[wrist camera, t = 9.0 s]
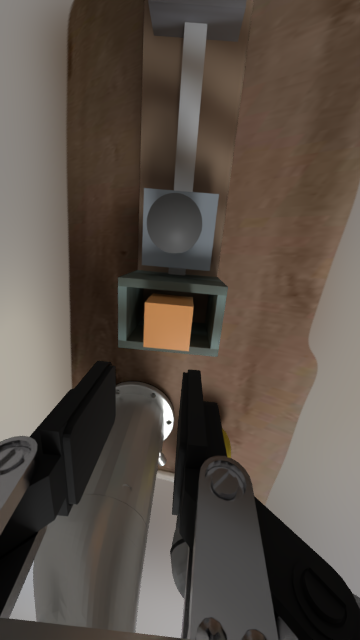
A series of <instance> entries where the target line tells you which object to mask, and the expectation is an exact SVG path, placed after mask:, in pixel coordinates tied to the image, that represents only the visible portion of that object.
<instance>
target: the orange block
mask: <svg viewBox="0 0 360 640" xmlns="http://www.w3.org/2000/svg"><path fill="white" fill-rule="evenodd" d="M193 307H194V306H193V297H187V296H176V295H165V294H154V293H153V294H152V295H151V296H150V297H149V298H148V299H147V301H146V302H145V313H144V341H143V347H149V348H160V349H170V350H181V351H189V345H190V336H191V326H192V317H193Z"/></svg>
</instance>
